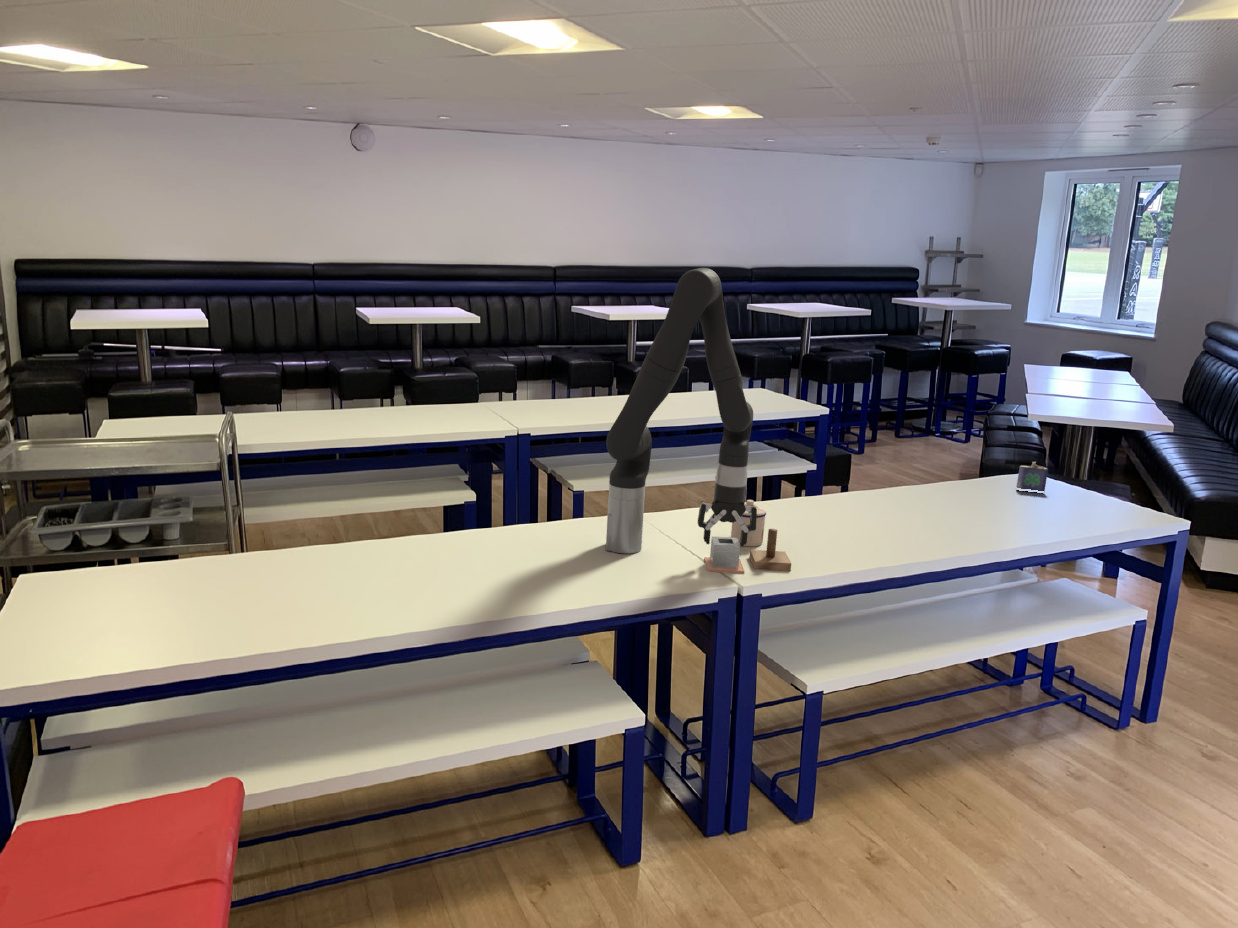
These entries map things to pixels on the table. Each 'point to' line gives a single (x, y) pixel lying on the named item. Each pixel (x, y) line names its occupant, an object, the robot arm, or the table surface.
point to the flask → (1032, 477)
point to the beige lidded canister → (753, 536)
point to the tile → (710, 569)
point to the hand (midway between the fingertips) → (724, 544)
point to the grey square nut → (724, 552)
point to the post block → (770, 556)
